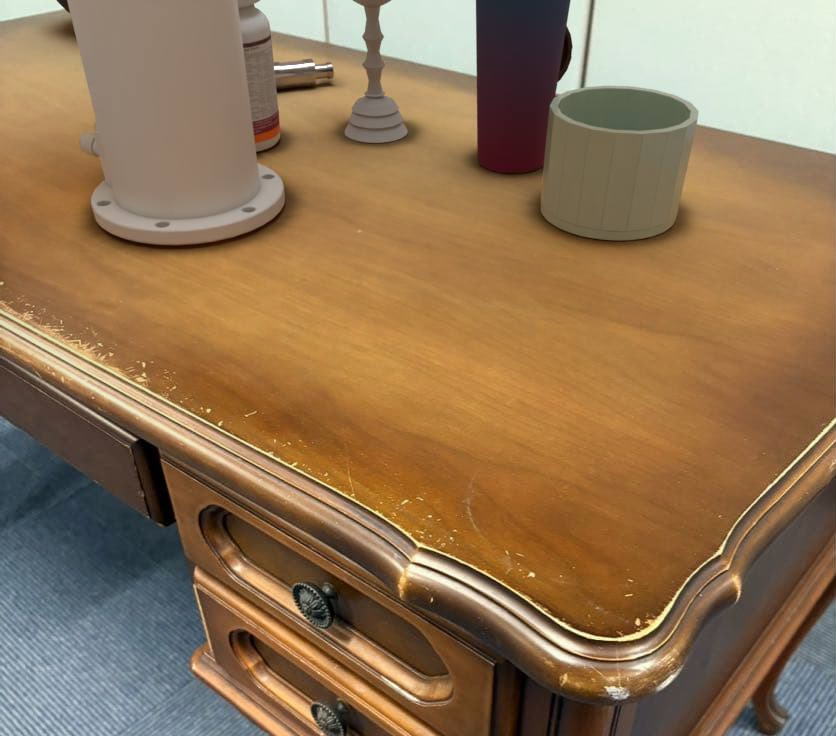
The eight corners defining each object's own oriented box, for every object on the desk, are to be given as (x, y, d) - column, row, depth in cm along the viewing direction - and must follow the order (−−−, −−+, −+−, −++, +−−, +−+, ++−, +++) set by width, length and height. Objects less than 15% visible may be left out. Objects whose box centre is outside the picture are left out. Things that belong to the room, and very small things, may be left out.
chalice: (317, 141, 67) (294, -154, 55) (348, 113, 72) (333, -164, 59) (406, 151, 66) (404, -150, 53) (432, 122, 70) (435, -161, 58)
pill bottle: (187, 140, 67) (157, -31, 59) (253, 123, 70) (233, -43, 62) (229, 162, 64) (203, -16, 56) (297, 143, 67) (281, -29, 59)
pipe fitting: (175, 123, 70) (169, 89, 68) (163, 97, 75) (157, 65, 73) (352, 103, 74) (350, 71, 72) (329, 80, 79) (327, 49, 77)
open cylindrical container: (514, 217, 57) (523, 113, 52) (579, 175, 62) (592, 77, 58) (639, 253, 53) (660, 144, 49) (697, 205, 58) (721, 102, 54)
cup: (552, 181, 61) (580, -74, 51) (458, 174, 62) (466, -78, 52) (560, 148, 66) (587, -92, 56) (473, 141, 67) (483, -96, 57)
